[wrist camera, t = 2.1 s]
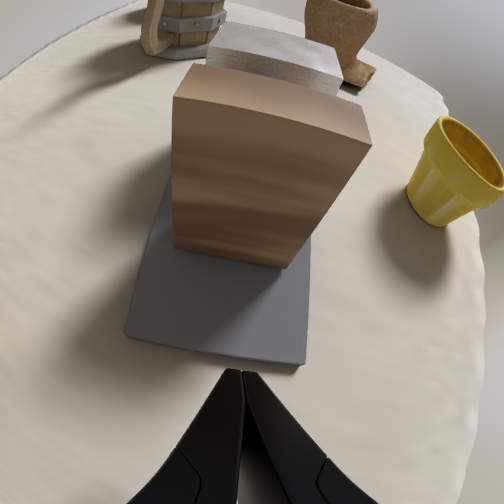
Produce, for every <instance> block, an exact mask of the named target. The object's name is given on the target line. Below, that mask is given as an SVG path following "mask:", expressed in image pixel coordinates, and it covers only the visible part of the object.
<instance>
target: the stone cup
mask: <svg viewBox="0 0 504 504" xmlns="http://www.w3.org/2000/svg"><path fill="white" fill-rule="evenodd" d="M377 20H378V9H377V7H376V6H375V5H374V4H373V3H372V2H370V1H369V0H307V3H306V8H305V39H308V40H311V41H314V42H317V43H321V44H324V45H327V46H330V47H333V48H334V49H335V52H336V55H337V58H338V61H339V65H340V68H341V71H342V75H343V78H344V80H343V81H346V82H348V83H351V84H353V85H356V86H359V87H362V88H363V87H364V86H365V84H366V83H367V82H368V81H369V80H370V79H371V77H372V75H373V74H374V73H375V71H376V68H374V67H372V66H370V65H368V64H366V63H364V62H362V61H360V60H358V59H357V58H356V56H357V54H358V52H359V50H360V49H361V48H362V46H363V45H364V44H365V42H366V41H367V40H368V38H369V37H370V36H371V34H372V33H373V32H374V30H375V28H376V25H377Z"/></svg>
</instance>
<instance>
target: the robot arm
mask: <svg viewBox="0 0 504 504" xmlns="http://www.w3.org/2000/svg"><path fill="white" fill-rule="evenodd" d="M237 499H238V504H379V503H377V502H376V501H375V500H373V499H372V498H371V497H370V496H368V495H367V494H366V493H365V492H364V491H362V490H361V489H360V488H359V487H358V486H357V485H355V484H354V483H353V482H352V481H351V480H350V479H349V478H348V477H347V476H346V475H345V474H344V473H343V472H342V471H341V470H340V469H339V468H338V467H337V466H336V465H335V464H334V463H333V462H332V460H331V459H330V458H327V455H326V454H325V453H324V452H323V451H322V450H321V448H320V447H319V446H318V445H317V444H316V443H315V442H314V440H313V439H312V438H311V437H310V436H309V435H308V434H307V432H306V431H305V430H304V429H303V428H302V427H301V425H300V424H299V423H298V422H297V421H296V420H295V418H294V417H293V416H292V415H291V414H290V412H289V411H288V410H287V409H286V408H285V406H284V405H283V404H282V403H281V401H280V400H279V399H278V398H277V397H276V395H275V394H274V393H273V392H272V390H271V389H270V388H269V387H268V385H267V384H266V383H265V382H264V380H263V379H262V378H261V377H260V375H259V374H258V373H257V372H252V371H242V372H241V371H240V370H237V369H230V368H227V369H225V371H224V372H223V374H222V375H221V377H220V379H219V380H218V382H217V383H216V385H215V387H214V388H213V390H212V391H211V393H210V395H209V396H208V398H207V399H206V401H205V402H204V404H203V406H202V407H201V409H200V410H199V412H198V413H197V415H196V416H195V418H194V419H193V421H192V423H191V424H190V426H189V427H188V429H187V430H186V432H185V433H184V435H183V436H182V438H181V439H180V441H179V442H178V444H177V445H176V448H174V449H173V451H172V452H171V454H170V455H169V457H168V458H167V460H166V461H165V462H164V464H163V465H162V466H161V468H160V469H159V470H158V472H157V473H156V474H155V475H154V476H153V477H152V478H151V480H150V481H149V482H148V483H147V484H146V485H145V486H144V487H143V488H142V489H141V490H140V491H139V492H138V493H137V494H136V495H135V496H134V497H133V498H132V499H131V500H130V501H129V502H128V503H127V504H236V503H237Z"/></svg>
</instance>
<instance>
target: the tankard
mask: <svg viewBox="0 0 504 504" xmlns="http://www.w3.org/2000/svg"><path fill="white" fill-rule="evenodd" d="M223 5H224V0H148V4H147V9H146V13H145V16H144V20H143V24H142V27H141V35H140V43H141V45H142V47H143V49H144V51H145V54H147V55H152V56H157V57H163V58H168V59H172V60H182V59H191V58H201V57H207V51H208V45H209V44H210V42H211V41H212V39H213V38H214V36H215V35H216V34H217V32H218V31H219V26H220V25H222V24H224V22H225V18H226V13H227V12H226V11H225V10H224V9H223Z"/></svg>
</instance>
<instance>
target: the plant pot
mask: <svg viewBox="0 0 504 504" xmlns="http://www.w3.org/2000/svg"><path fill="white" fill-rule="evenodd" d="M503 193H504V171H503V169H502V167H501V165H500V164H499V162H498V160H497V159H496V157H495V156H494V154H493V153H492V152H491V150H490V149H489V148H488V147H487V145H486V144H485V143H484V142H483V141H482V140H481V139H480V138H479V137H478V136H477V135H476V134H475V133H474V132H473V131H472V130H470V129H469V128H468V127H467V126H465V125H464V124H462V123H461V122H459V121H457V120H456V119H454V118H451V117H448V116H441V117H439V118H438V119H437V121H436V122H435V123H434V125H433V126H432V128H431V129H430V130H429V132H428V134H427V135H426V137H425V139H424V151H423V154H422V156H421V158H420V160H419V163H418V165H417V167H416V169H415V171H414V173H413V175H412V177H411V179H410V181H409V183H408V186H407V195H408V198H409V201H410V203H411V205H412V207H413V208H414V210H415V211H416V212H417V214H418V215H419V216H420V217H421V218H422V219H423V220H425V221H426V222H427V223H429V224H431V225H433V226H436V227H442V226H444V225H446V224H448V223H450V222H452V221H454V220H456V219H458V218H459V217H461V216H463V215H465V214H467V213H469V212H471V211H472V210H474V209H476V208H480V209H483V208H487V207H489V206H490V205H491V204H492V203H494V202H495V201H496V200H497V199H498V198H499V197H500V196H501V195H502V194H503Z"/></svg>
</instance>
